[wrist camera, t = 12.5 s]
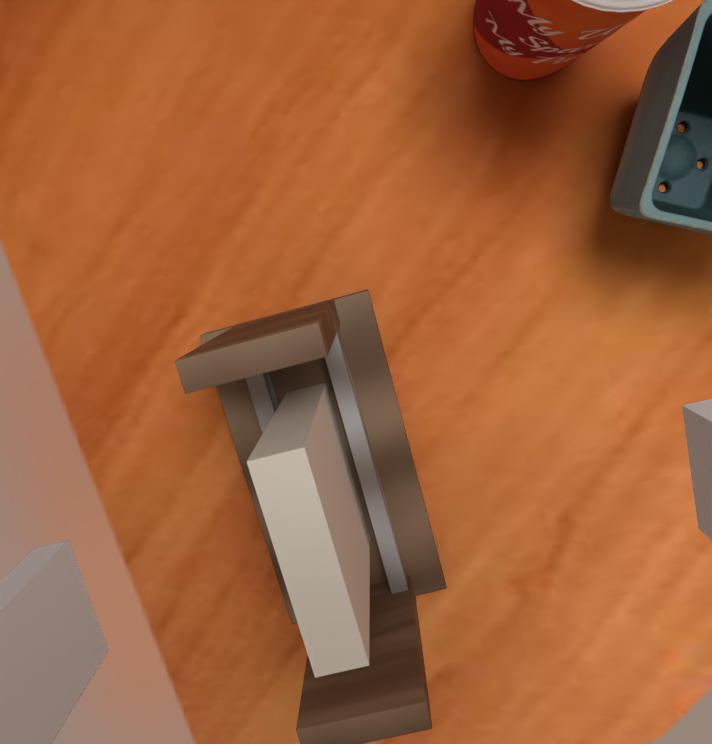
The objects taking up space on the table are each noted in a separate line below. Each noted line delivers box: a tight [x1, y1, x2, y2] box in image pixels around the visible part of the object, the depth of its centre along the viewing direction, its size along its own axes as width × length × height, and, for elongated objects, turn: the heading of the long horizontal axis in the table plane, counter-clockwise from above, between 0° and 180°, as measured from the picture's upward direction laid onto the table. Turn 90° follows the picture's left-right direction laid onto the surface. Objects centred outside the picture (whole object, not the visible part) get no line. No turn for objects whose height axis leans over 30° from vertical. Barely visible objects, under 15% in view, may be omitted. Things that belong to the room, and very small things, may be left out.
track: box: [175, 290, 446, 744], centre depth 33 cm, size 19×10×12 cm, turn 15°
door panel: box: [247, 383, 370, 678], centre depth 32 cm, size 10×2×12 cm, turn 15°
